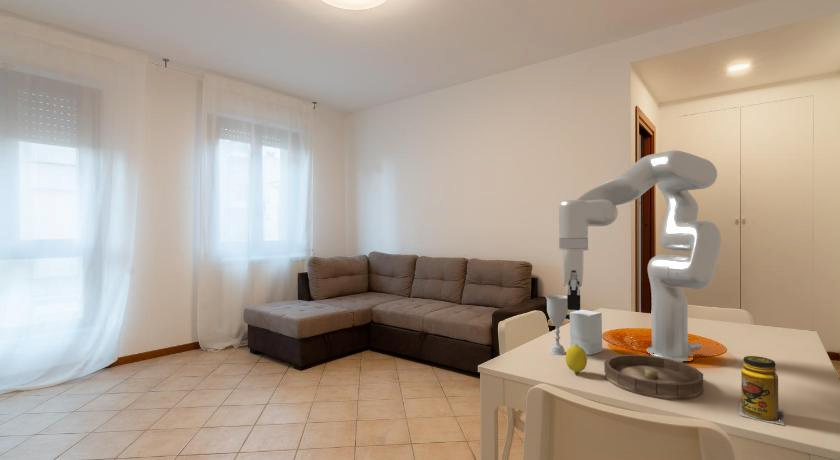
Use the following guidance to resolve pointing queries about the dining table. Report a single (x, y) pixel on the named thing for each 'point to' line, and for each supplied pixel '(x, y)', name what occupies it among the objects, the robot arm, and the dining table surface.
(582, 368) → the lemon
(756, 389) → the condiment
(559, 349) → the chalice
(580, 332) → the supplement box
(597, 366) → the dining table surface
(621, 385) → the groove tray
